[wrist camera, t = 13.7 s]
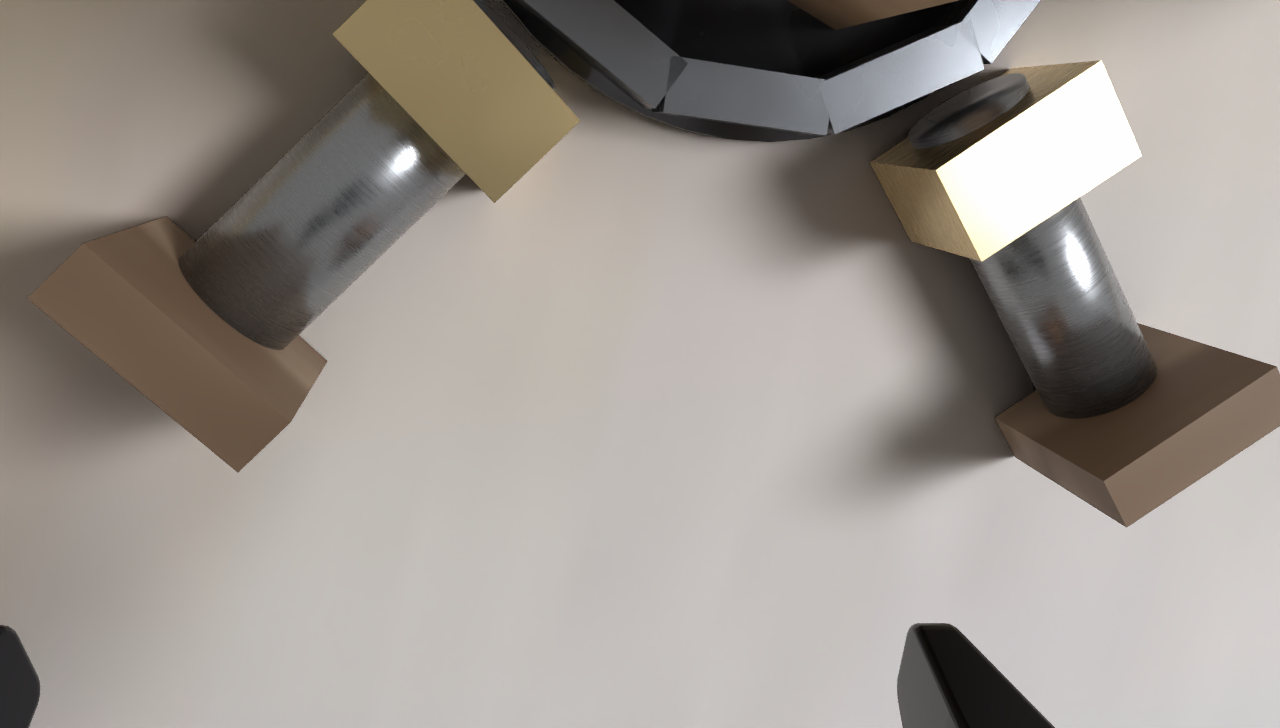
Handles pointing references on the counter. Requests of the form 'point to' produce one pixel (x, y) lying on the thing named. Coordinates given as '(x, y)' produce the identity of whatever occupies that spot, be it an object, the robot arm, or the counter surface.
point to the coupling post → (860, 10)
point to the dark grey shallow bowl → (766, 59)
